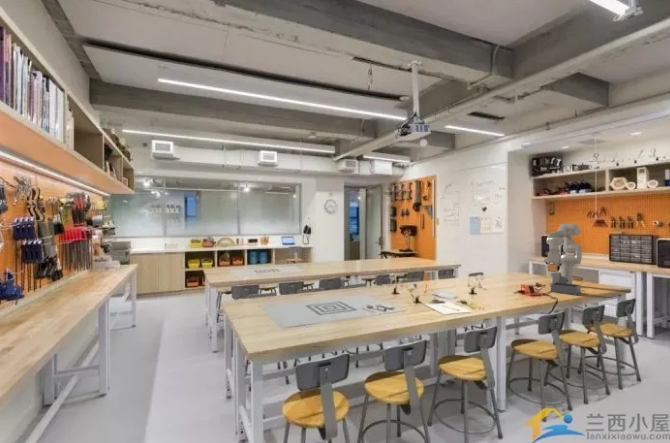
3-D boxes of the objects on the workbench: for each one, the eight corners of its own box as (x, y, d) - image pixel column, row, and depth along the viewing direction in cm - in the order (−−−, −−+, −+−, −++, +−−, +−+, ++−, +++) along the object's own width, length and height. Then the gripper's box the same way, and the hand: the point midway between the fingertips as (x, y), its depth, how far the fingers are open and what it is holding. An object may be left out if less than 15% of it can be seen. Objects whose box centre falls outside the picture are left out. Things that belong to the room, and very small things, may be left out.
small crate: (550, 270, 333) (550, 263, 333) (559, 270, 328) (559, 264, 328) (547, 271, 326) (547, 264, 326) (556, 272, 321) (556, 265, 321)
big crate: (555, 289, 333) (555, 282, 333) (580, 292, 319) (580, 285, 319) (550, 292, 320) (550, 284, 320) (576, 295, 306) (576, 287, 306)
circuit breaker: (568, 289, 333) (568, 273, 333) (551, 287, 340) (551, 272, 339) (567, 287, 340) (567, 272, 340) (550, 286, 346) (550, 271, 346)
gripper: (565, 251, 323) (565, 270, 323) (544, 250, 335) (544, 268, 336) (563, 252, 318) (563, 271, 318) (542, 250, 330) (542, 269, 330)
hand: (553, 269), depth 327 cm, fingers closed on small crate, 7 cm apart
